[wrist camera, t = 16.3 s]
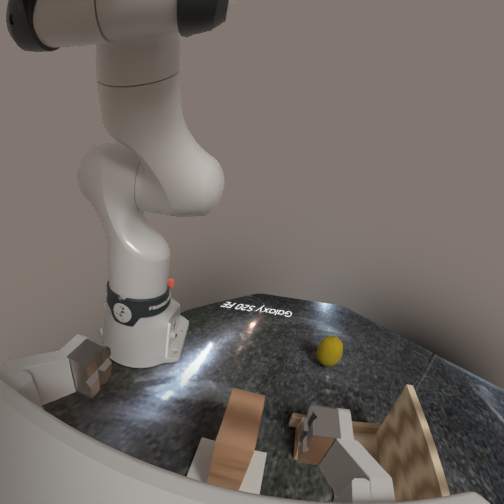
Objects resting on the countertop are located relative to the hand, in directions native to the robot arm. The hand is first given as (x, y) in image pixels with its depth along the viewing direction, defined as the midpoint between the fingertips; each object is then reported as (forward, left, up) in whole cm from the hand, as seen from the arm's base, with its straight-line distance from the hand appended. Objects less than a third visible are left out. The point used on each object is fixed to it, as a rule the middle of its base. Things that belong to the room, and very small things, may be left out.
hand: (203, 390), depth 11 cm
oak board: (-15, +2, -31) cm, 34 cm away
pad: (-15, +2, -31) cm, 35 cm away
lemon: (-47, +17, -31) cm, 59 cm away
